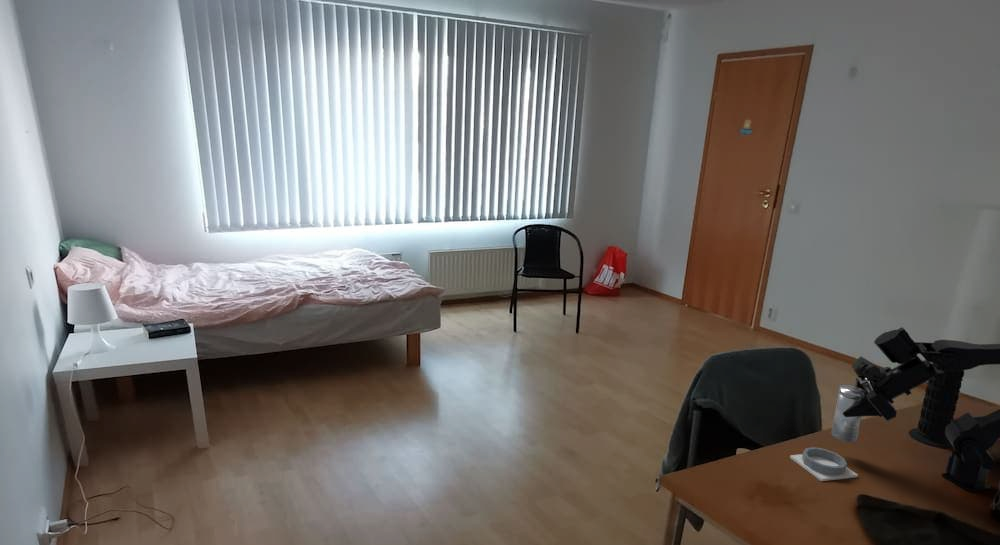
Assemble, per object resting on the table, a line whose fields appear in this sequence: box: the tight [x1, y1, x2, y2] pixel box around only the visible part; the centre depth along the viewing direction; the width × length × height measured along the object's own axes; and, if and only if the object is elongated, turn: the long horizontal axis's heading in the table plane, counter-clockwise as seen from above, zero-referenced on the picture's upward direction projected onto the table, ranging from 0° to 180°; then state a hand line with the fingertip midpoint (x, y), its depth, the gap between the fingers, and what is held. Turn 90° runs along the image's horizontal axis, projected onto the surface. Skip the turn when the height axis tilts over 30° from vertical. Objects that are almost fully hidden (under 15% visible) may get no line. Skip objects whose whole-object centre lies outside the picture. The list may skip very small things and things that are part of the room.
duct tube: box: [831, 384, 866, 443], centre depth 135 cm, size 6×6×12 cm
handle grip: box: [908, 362, 965, 449], centre depth 144 cm, size 10×26×10 cm
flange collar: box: [789, 446, 859, 482], centre depth 131 cm, size 10×10×3 cm
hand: (842, 410), depth 135 cm, fingers closed on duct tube, 5 cm apart
